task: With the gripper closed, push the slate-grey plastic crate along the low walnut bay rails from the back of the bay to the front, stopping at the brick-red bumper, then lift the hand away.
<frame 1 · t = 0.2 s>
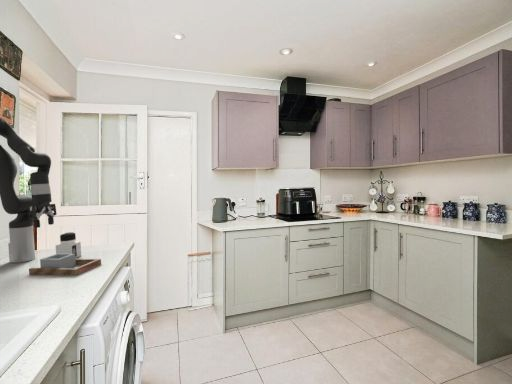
hand: (44, 225, 132), 18 cm above the counter, tool pointing down, fingers open, 8 cm apart
bay: (67, 269, 120), on the counter
crate: (59, 269, 120), on the counter
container: (69, 258, 138), on the counter
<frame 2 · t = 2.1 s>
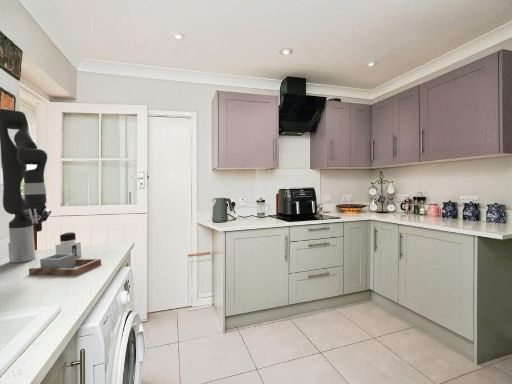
hand: (38, 231, 121), 17 cm above the counter, tool pointing down, fingers closed
nothing on the counter moved.
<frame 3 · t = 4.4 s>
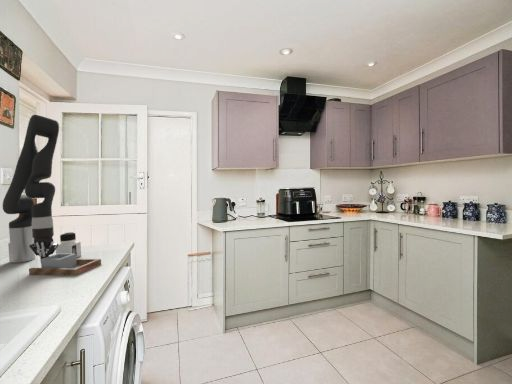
hand: (45, 264, 121), 2 cm above the counter, tool pointing down, fingers closed
crate: (59, 269, 120), on the counter, touching gripper
everything else where it was.
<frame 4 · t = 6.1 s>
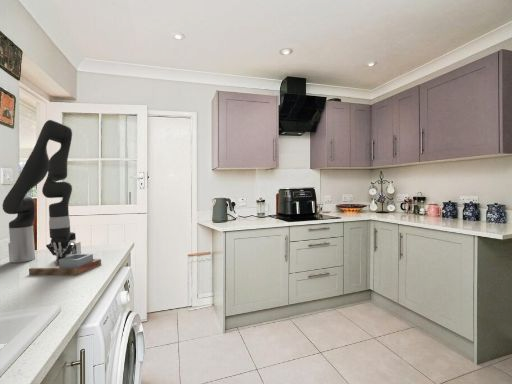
hand: (62, 264, 120), 2 cm above the counter, tool pointing down, fingers closed
crate: (77, 269, 120), on the counter, touching gripper
everything else where it was.
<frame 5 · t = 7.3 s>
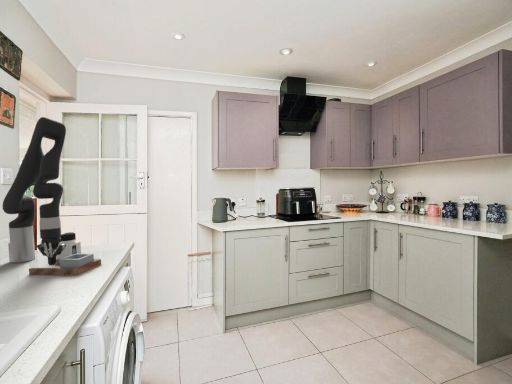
hand: (52, 264, 121), 2 cm above the counter, tool pointing down, fingers closed
crate: (77, 269, 120), on the counter
everything else where it was.
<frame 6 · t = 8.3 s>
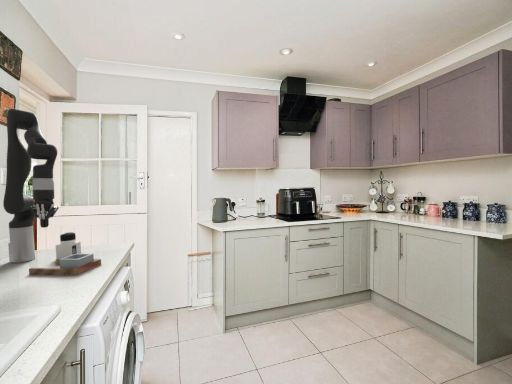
hand: (44, 227, 120), 19 cm above the counter, tool pointing down, fingers closed
nothing on the counter moved.
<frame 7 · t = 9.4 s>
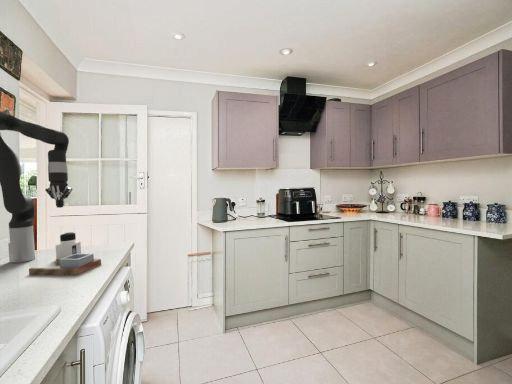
hand: (60, 207, 130), 27 cm above the counter, tool pointing down, fingers closed
nothing on the counter moved.
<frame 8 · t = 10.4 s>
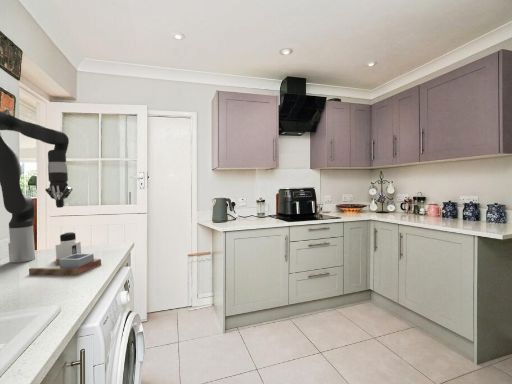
hand: (60, 207, 130), 27 cm above the counter, tool pointing down, fingers closed
nothing on the counter moved.
at the end: crate 1.3 cm from the target spot, on the counter; crate tilted 0° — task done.
